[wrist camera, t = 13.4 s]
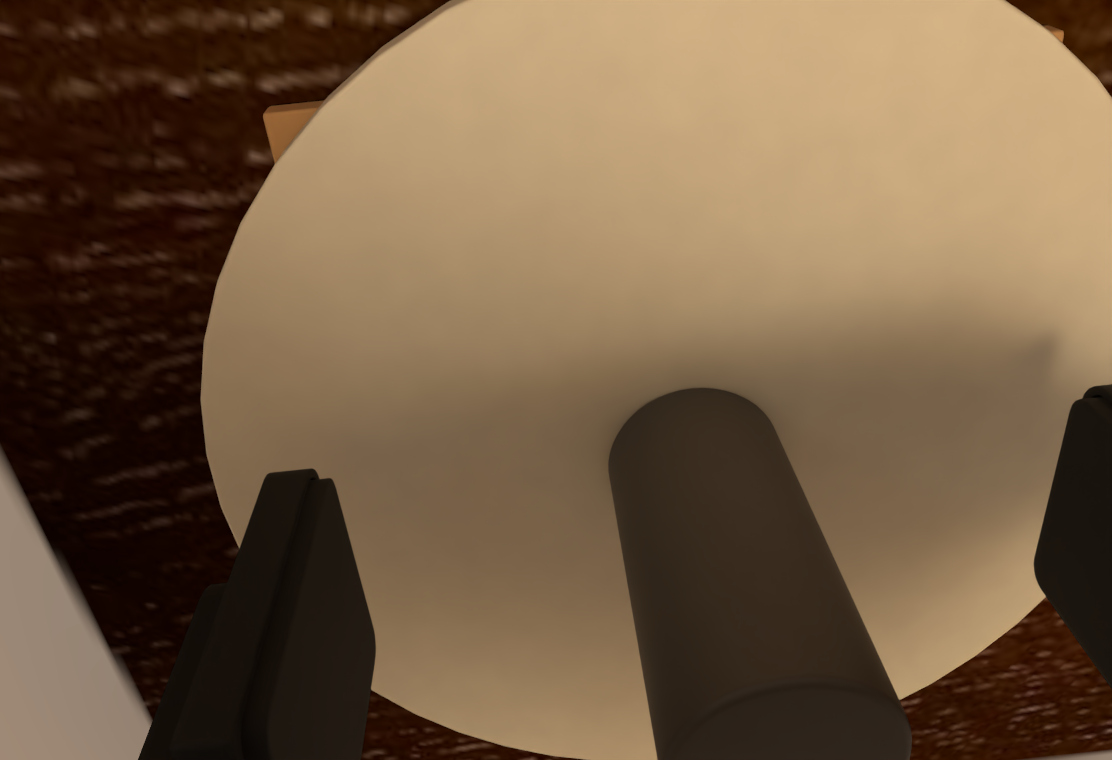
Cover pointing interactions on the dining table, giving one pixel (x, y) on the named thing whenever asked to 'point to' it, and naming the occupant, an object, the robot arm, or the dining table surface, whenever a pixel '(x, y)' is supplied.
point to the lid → (678, 358)
